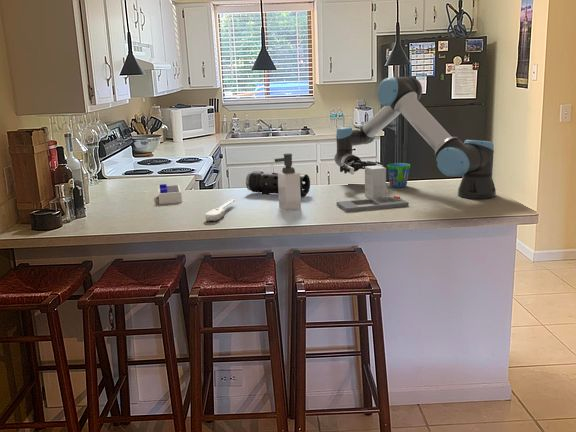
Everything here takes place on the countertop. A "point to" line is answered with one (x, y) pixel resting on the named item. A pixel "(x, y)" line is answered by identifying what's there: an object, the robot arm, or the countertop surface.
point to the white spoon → (217, 212)
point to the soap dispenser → (288, 185)
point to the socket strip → (378, 203)
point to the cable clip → (163, 188)
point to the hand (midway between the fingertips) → (367, 170)
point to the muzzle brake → (272, 183)
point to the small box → (375, 182)
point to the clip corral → (170, 195)
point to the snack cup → (398, 174)
